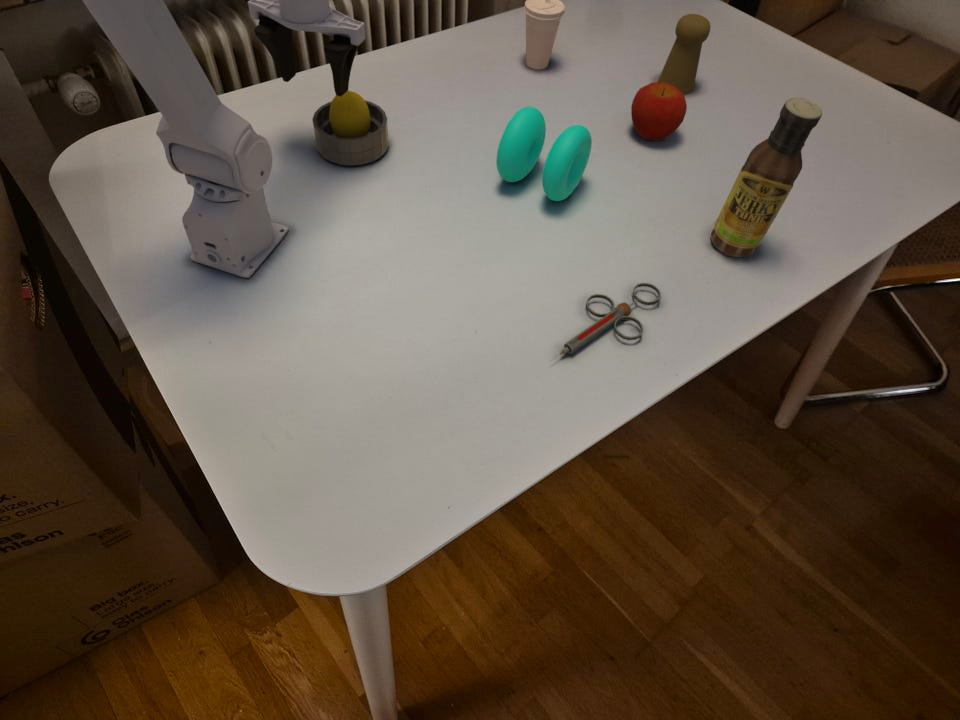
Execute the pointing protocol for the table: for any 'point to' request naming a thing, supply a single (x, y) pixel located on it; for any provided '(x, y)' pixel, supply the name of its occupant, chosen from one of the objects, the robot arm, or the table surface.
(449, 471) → the table surface
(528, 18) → the smoothie
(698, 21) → the pawn
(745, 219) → the sauce bottle
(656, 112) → the apple
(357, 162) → the bowl
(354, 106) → the lemon
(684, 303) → the table surface
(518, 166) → the donuts
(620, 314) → the syringe
